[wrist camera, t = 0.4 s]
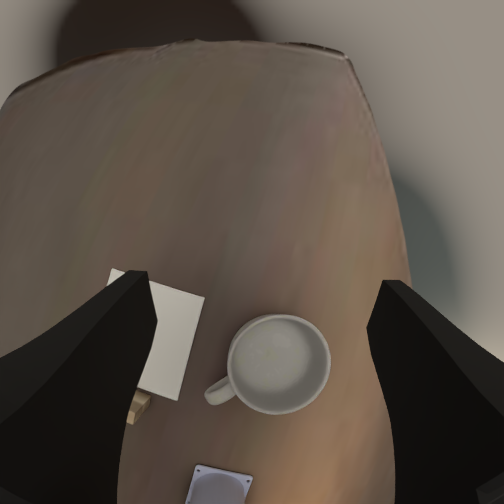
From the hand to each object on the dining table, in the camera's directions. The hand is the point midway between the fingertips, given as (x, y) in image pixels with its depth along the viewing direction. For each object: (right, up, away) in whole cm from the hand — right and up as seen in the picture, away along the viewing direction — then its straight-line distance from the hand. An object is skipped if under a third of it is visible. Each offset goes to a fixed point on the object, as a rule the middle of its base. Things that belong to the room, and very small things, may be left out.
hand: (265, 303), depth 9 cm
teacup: (0, -12, +27) cm, 29 cm away
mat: (-14, -9, +26) cm, 31 cm away
